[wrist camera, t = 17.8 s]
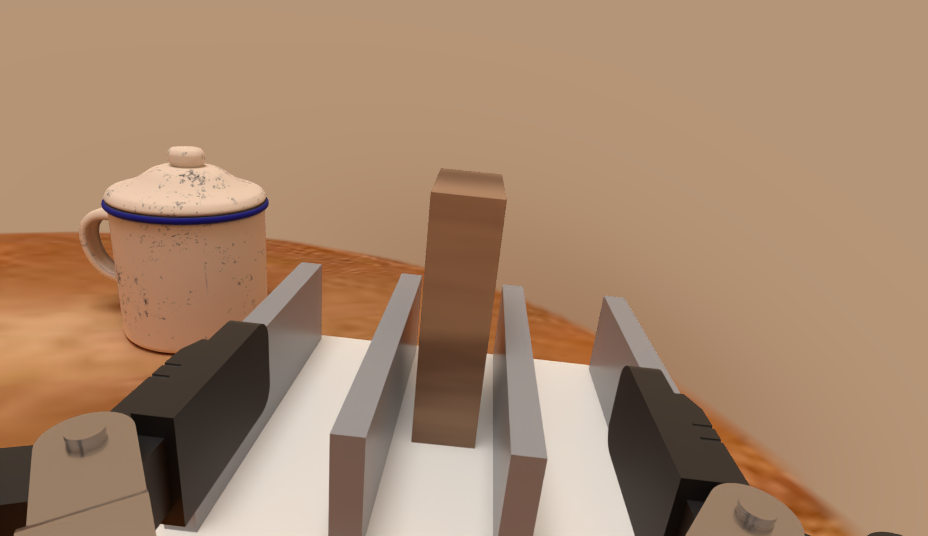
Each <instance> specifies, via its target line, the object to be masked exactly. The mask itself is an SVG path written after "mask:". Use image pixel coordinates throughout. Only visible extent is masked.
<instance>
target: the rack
mask: <svg viewBox="0 0 928 536" xmlns="http://www.w3.org/2000/svg"><path fill="white" fill-rule="evenodd" d="M421 284H422V275H413V274H404V273H402V274H401V277H400V279H399V281H398V283H397V286H396V288H395V290H394V292H393V294H392V297H391V299H390V301H389V303H388V306H387V308H386V310H385V312H384V314H383V317H382V319H381V321H380V323H379V325H378V328H377V330H376V332H375V334H374V337H373V339H372V341H368V340H360V339H351V338H342V337H333V336H324V335H321V307H322V264H313V263H304V262H302V263H301V264H299V265H298V266H297V267H296V268H295V269H294V270H293V271H292V272H291V273H290V274H289V275H288V276H287V277H286V278H285V279H284V280H283V281H282V282H281V283H280V284H279V285H278V286H277V287H276V288H275V289H274V290H273V291H272V292H271V293H270V294H269V295H268V296H267V297H266V298H265V299H264V300H263V301H262V302H261V303H260V304H259V305H258V306H257V307H256V308H255V309H254V310H253V311H252V312H251V313H250V314H249V315H248V316H247V317H246V318H245V319H244V320H243V321H242V322H251V323H260V324H265V325H266V327H267V329H268V336H269V368H270V391H269V396H268V401H267V404H266V407H265V409H264V411H263V413H262V414H261V416H260V417H259V419H258V420H257V422H256V423H255V425H254V426H253V428H252V429H251V431H250V432H249V434H248V435H247V436H246V438H245V439H244V441H243V442H242V444H241V445H240V447H239V448H238V450H237V451H236V453H235V454H234V456H233V457H232V459H231V460H230V462H229V463H228V465H227V466H226V468H225V469H224V471H223V472H222V473H221V475H220V476H219V478H218V479H217V481H216V482H215V484H214V485H213V487H212V488H211V490H210V491H209V493H208V494H207V496H206V497H205V499H204V500H203V502H202V503H201V505H200V506H199V508H198V509H197V510H196V512H195V513H194V515H193V516H192V518H191V519H190V521H189V522H188V524H187V525H186V527H181V526H172V525H164V524H160V525H159V527H158V528H157V529H156V536H635V535H634V532H633V528H632V525H631V522H630V519H629V515H628V512H627V509H626V506H625V502H624V499H623V496H622V493H621V489H620V486H619V483H618V480H617V476H616V473H615V470H614V467H613V464H612V460H611V457H610V454H609V449H608V427H609V422H610V417H611V413H612V409H613V404H614V400H615V396H616V391H617V387H618V383H619V378H620V374H621V371H622V369H623V368H624V366H626V365H627V366H636V367H645V368H654V369H660V370H661V371H662V372H663V374H664V376H665V377H666V379H667V381H668V383H669V385H670V386H671V388H672V390H673V392H674V393H678V394H680V392H679V390H678V389H677V387H676V385H675V384H674V382H673V380H672V378H671V377H670V375H669V373H668V372H667V370H666V368H665V367H664V365H663V363H662V361H661V360H660V358H659V356H658V355H657V353H656V351H655V350H654V348H653V346H652V344H651V343H650V341H649V339H648V338H647V336H646V334H645V332H644V331H643V329H642V327H641V326H640V324H639V322H638V321H637V319H636V317H635V315H634V314H633V312H632V310H631V309H630V307H629V305H628V304H627V302H626V300H625V298H620V297H611V296H604V298H603V303H602V308H601V312H600V317H599V323H598V327H597V332H596V337H595V341H594V346H593V351H592V356H591V361H590V365H582V364H573V363H564V362H555V361H546V360H538V359H533V353H532V346H531V339H530V332H529V325H528V319H527V312H526V305H525V298H524V291H523V287H520V286H511V285H503V287H502V294H501V301H500V309H499V316H498V324H497V331H496V339H495V346H494V353H493V354H487V356H486V364H485V372H484V379H483V387H482V395H481V403H480V410H479V418H478V426H477V434H476V441H475V449H472V448H463V447H453V446H443V445H434V444H424V443H414V442H411V439H412V426H413V413H414V400H415V388H416V375H417V362H418V349H419V346H417V336H418V323H419V310H420V297H421Z"/></svg>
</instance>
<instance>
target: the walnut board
mask: <svg viewBox="0 0 928 536" xmlns="http://www.w3.org/2000/svg"><path fill="white" fill-rule="evenodd" d="M506 201H507V199H506V194H505V188H504V183H503V178H502V175H500V174H490V173H481V172H471V171H461V170H453V169H442V168H441V170H440V172H439V174H438V177H437V179H436V181H435V183H434V186H433V188H432V191H431V198H430V209H429V222H428V235H427V248H426V261H425V273H424V286H423V299H422V311H421V324H420V337H419V349H418V362H417V375H416V388H415V400H414V413H413V426H412V439H411V442H414V443H424V444H434V445H443V446H453V447H463V448H472V449H475V441H476V434H477V426H478V418H479V410H480V403H481V395H482V387H483V379H484V372H485V364H486V356H487V349H488V341H489V333H490V325H491V318H492V310H493V302H494V294H495V287H496V279H497V270H498V263H499V256H500V248H501V240H502V232H503V225H504V217H505V209H506Z"/></svg>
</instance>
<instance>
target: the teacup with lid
mask: <svg viewBox="0 0 928 536" xmlns="http://www.w3.org/2000/svg"><path fill="white" fill-rule="evenodd" d="M167 156H168V161H169V163H165V164H161V165H157V166H154V167H152V168H150V169H148V170H147V171H145V172H144V173H142V174H141V175H139V176H138V177H136V178H131V179H127V180H124V181H120V182H117V183H115V184H113V185H111V186H110V187H109V188H108V189H107V190H106V192H105V193H104V196H103V200H102V203H101V205H102V208H99V209H96V210H94V211H91V212H90V213H88V214H87V215H86V216H85V217H84V218H83V219H82V221H81V223H80V227H79V237H80V242H81V246H82V248H83V251H84V253H85V255H86V257H87V258H88V260H89V261H90V263H91V264H92V265H93V266H94V268H95V269H96V270H97V271H98V272H100V273H101V274H102V275H103V276H105V277H107V278H108V279H110V280H113V281H116V282H117V285H118V293H119V300H120V307H121V315H122V322H123V329H124V332H125V334H126V336H127V337H128V338H129V339H130V340H131V341H132V342H133V343H135V344H137V345H138V346H141V347H143V348H146V349H149V350H153V351H158V352H165V353H177V352H178V351H179V350H180V349H182V348H184V347H186V346H188V345H191V344H193V343H195V342H197V341H199V340H201V339H206V340H209V339H210V338H211V337H212V336H213V335H214V334H215V333H216V332H217V331H218V330H219V329H220V328H222V327H223V326H224V325H225V324H226V323H227V322H228V321H230V320H233V321H243V320H244V319H245V318H246V317H247V316H248V315H249V314H250V313H251V312H252V311H253V310H254V309H255V308H256V307H257V306H258V305H259V304H260V303H261V302H262V301H263V300H264V299H265V298H266V297H267V266H266V234H265V209H266V208H267V207H268V199H267V197H266V194H265V192H264V191H263V189H262V188H261V187H260V186H259V185H256V184H255V183H253V182H250V181H247V180H243V179H239V178H236V177H234V176H232V175H231V174H230V173H228V172H226V171H225V170H223V169H221V168H219V167H217V166H214V165H210V164H205V163H204V162H205V154H204V152H203V151H202V149H200V148H197V147H189V146H179V147H172V148H170V149H169V151H168V152H167ZM102 220H109V227H110V234H111V241H112V249H113V256H114V261H113V260H112V259H111V258H110V256H109V255H108V254H107V252H106V251H105V249H104V247H103V245H102V242H101V239H100V235H99V226H100V223H101V221H102Z"/></svg>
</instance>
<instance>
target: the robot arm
mask: <svg viewBox="0 0 928 536" xmlns="http://www.w3.org/2000/svg"><path fill="white" fill-rule="evenodd" d="M269 391H270V368H269V336H268V329H267V327H266V325H265V324H260V323H251V322H242V321H233V320H230V321H228V322H227V323H226V324H225V325H224V326H223V327H222V328H220V329H219V330H218V331H217V332H216V333H215V334H214V335H213V336H212V337H211V338H210V339H209V340H206V339H201V340H199V341H197V342H195V343H193V344H191V345H188V346H186V347H184V348H182V349H180V350H179V351H178V352H177V353H175V354H174V355H173V356H172V357H171V358H170V359H169V360H167V361H166V362H165V365H164V366H163V365H162V366H161V367H160V368H158V369H157V370H156V371H155V372H154V373H153V374H152V377H148V378H147V379H146V380H145V381H144V382H143V383H142V384H140V385H139V386H138V387H137V388H136V389H135V390H134V391H132V392H131V393H130V394H129V395H128V396H127V397H126V398H125V399H123V400H122V401H121V402H120V403H119V404H118V405H117V406H116V407H114V408H113V409H112V410H111V411H110V412H94V413H88V414H83V415H80V416H76V417H73V418H70V419H67V420H65V421H63V422H61V423H59V424H57V425H55V426H53V427H51V428H50V429H48V430H47V431H46V432H44V433H43V434H42V435H41V436H40V437H39V438H38V439H37V440H36V442H35V444H34V445H30V446H20V447H10V448H0V536H156V529H157V528H158V527H159V525H160V524H164V525H172V526H181V527H186V525H187V524H188V522H189V521H190V519H191V518H192V516H193V515H194V513H195V512H196V510H197V509H198V508H199V506H200V505H201V503H202V502H203V500H204V499H205V497H206V496H207V494H208V493H209V491H210V490H211V488H212V487H213V485H214V484H215V482H216V481H217V479H218V478H219V476H220V475H221V473H222V472H223V471H224V469H225V468H226V466H227V465H228V463H229V462H230V460H231V459H232V457H233V456H234V454H235V453H236V451H237V450H238V448H239V447H240V445H241V444H242V442H243V441H244V439H245V438H246V436H247V435H248V434H249V432H250V431H251V429H252V428H253V426H254V425H255V423H256V422H257V420H258V419H259V417H260V416H261V414H262V413H263V411H264V409H265V407H266V404H267V401H268V396H269ZM608 449H609V454H610V457H611V460H612V464H613V467H614V470H615V473H616V476H617V480H618V483H619V486H620V489H621V493H622V496H623V499H624V502H625V506H626V509H627V512H628V515H629V519H630V522H631V525H632V528H633V532H634V535H635V536H810V535H808V534H805V533H804V529H803V527H802V524H801V523H800V521H799V519H798V518H797V517H796V515H795V514H794V513H793V512H792V511H791V510H790V509H789V508H788V507H787V506H786V505H784V504H783V503H782V502H781V501H779V500H778V499H776V498H775V497H773V496H771V495H769V494H768V493H766V492H764V491H762V490H759V489H757V488H754V487H751V486H749V484H748V482H747V481H746V479H745V478H744V476H743V474H742V473H741V471H740V470H739V468H738V466H737V465H736V463H735V462H734V460H733V458H732V457H731V455H730V454H729V452H728V450H727V449H726V447H725V446H724V444H723V443H721V439H720V437H719V436H718V434H717V433H716V431H715V429H712V425H711V423H710V421H709V420H708V418H707V417H706V415H705V413H704V412H703V410H702V409H701V408H700V407H698V406H697V405H696V404H695V403H694V402H692V401H691V400H690V399H689V398H688V397H686V396H685V395H684V394H678V393H674V392H673V390H672V388H671V386H670V385H669V383H668V381H667V379H666V377H665V376H664V374H663V372H662V371H661V370H660V369H654V368H645V367H636V366H627V365H626V366H624V368H623V369H622V371H621V374H620V378H619V383H618V387H617V391H616V396H615V400H614V404H613V409H612V413H611V417H610V422H609V427H608ZM868 536H902V535H899V534H894V533H889V532H875V533H871V534H869V535H868Z"/></svg>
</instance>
